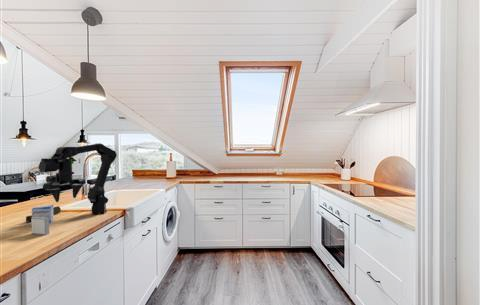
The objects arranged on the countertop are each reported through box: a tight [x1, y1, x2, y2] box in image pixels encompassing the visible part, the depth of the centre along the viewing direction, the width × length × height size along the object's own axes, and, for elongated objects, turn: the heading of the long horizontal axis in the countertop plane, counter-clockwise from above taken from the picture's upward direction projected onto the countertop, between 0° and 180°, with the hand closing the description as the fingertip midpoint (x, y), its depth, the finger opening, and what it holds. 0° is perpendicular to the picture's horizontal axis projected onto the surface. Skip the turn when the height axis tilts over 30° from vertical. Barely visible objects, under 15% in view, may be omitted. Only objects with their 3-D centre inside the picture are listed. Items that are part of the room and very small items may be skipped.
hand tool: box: [25, 205, 62, 224], centre depth 127 cm, size 19×4×5 cm, turn 172°
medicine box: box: [31, 204, 55, 224], centre depth 117 cm, size 8×4×9 cm, turn 117°
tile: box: [30, 217, 50, 236], centre depth 101 cm, size 2×8×8 cm, turn 79°
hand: (66, 199), depth 117 cm, fingers open, 9 cm apart
